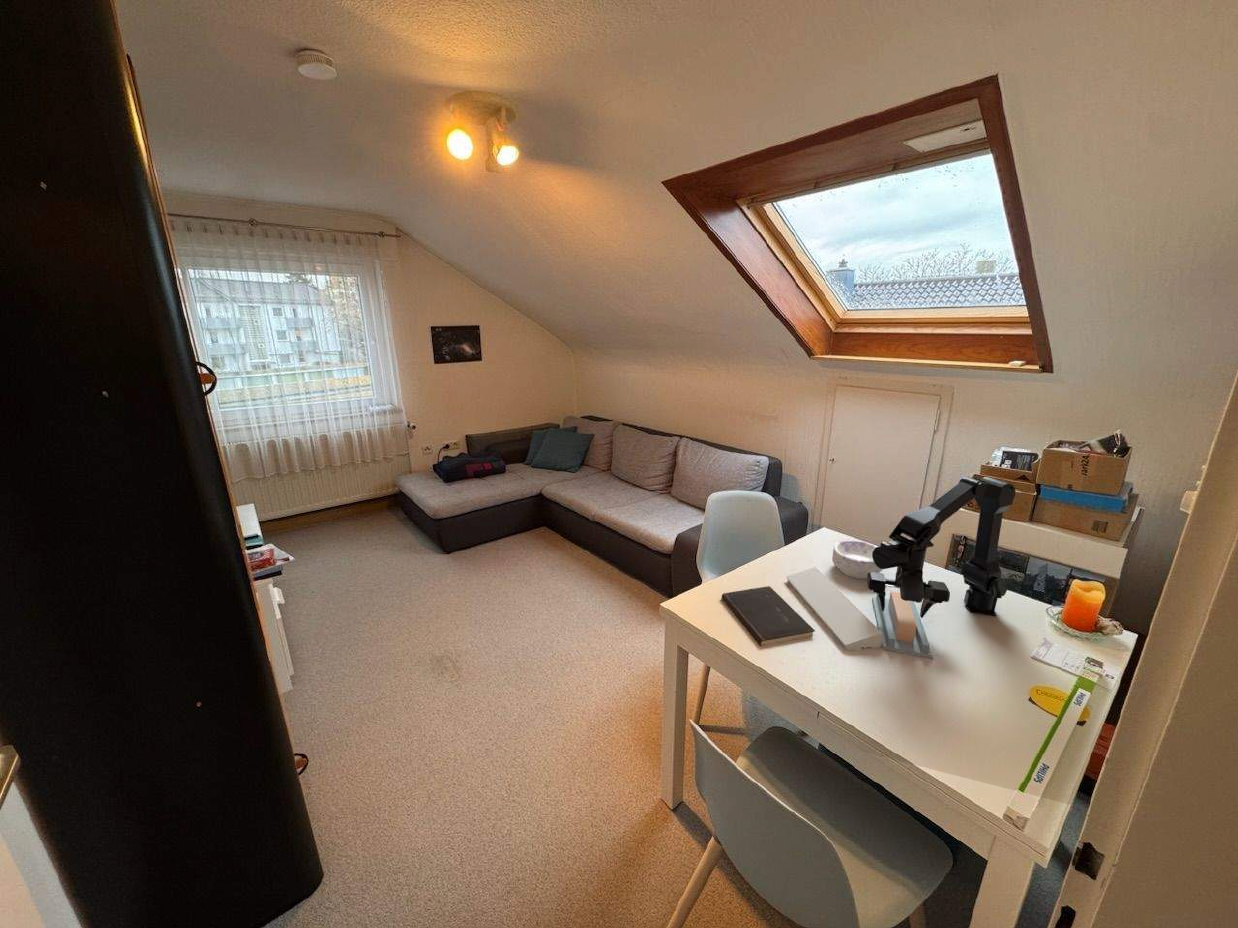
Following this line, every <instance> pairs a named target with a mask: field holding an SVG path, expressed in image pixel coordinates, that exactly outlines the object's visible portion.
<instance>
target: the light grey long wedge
mask: <svg viewBox="0 0 1238 928" xmlns="http://www.w3.org/2000/svg"><path fill="white" fill-rule="evenodd" d="M785 578H786V580H787V581H788V583H789V584H790V585H791V586H792V588H794V590H795V591H796V592H797V593H798V595H800V597H801V598H802V599H803V601H805V603H806V604H807V605H808V606H809V608H811V610H812V611H813V612H814V613H815V614H816V615H817V616H818V618H819V619H820V620H821V621H822V622H823V624H824V625H825V626H826V627H827V628H828V629H829V631H830V632H831V633H832V634H833V635H834V636H835V637H836V638H837V640H838V641H839V642H840V644H842V646H843V647H844V648H845V649H846V650H847V651H851V650H855V651H856V650H857V651H858V650H862V649H867V648H873V649H877V648H882V645H883V644H884V642H883V635H882V632H881V631H880V630H879V629H878V626H876V625H875V624H874V622H872V621H871V620H870V619H869V618H868V617H867V616H866V615H865V614H864V613H863V612H862V611H861V610H860V609H859V608H858V607H857V606H856V605H855V604H854V603H852V601H851V600H850V599H849V598H848V597H847V596H846V595H844V593H843V592H842V591H840V590H839V589H838V587H837V586H836V585H835V584H833V583H832V582H831V580H829V579H828V577H826V575H825V574H824V573H822V571H821V570H820V569H818V568H817V567H816V566H814V567H810V568H808V569H805V570H802V571H799V572H796V573H793V574H790V575H786V577H785Z"/></svg>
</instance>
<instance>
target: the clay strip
mask: <svg viewBox="0 0 1238 928" xmlns="http://www.w3.org/2000/svg"><path fill="white" fill-rule="evenodd" d="M889 592H890V594H889V598H888V599H889V604H888V608H889V612H890V616H891V621H892V625H893V629H894V633H895V637H896V639H897V640H902V641H907V642H912V643H914V638H915V632H916V627H917V625H916V622H915V619H914V616H913V613H912V609H911V606H910V603H909V601H905V600H902V599H901V596H900V591H892V590H890V591H889Z"/></svg>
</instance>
